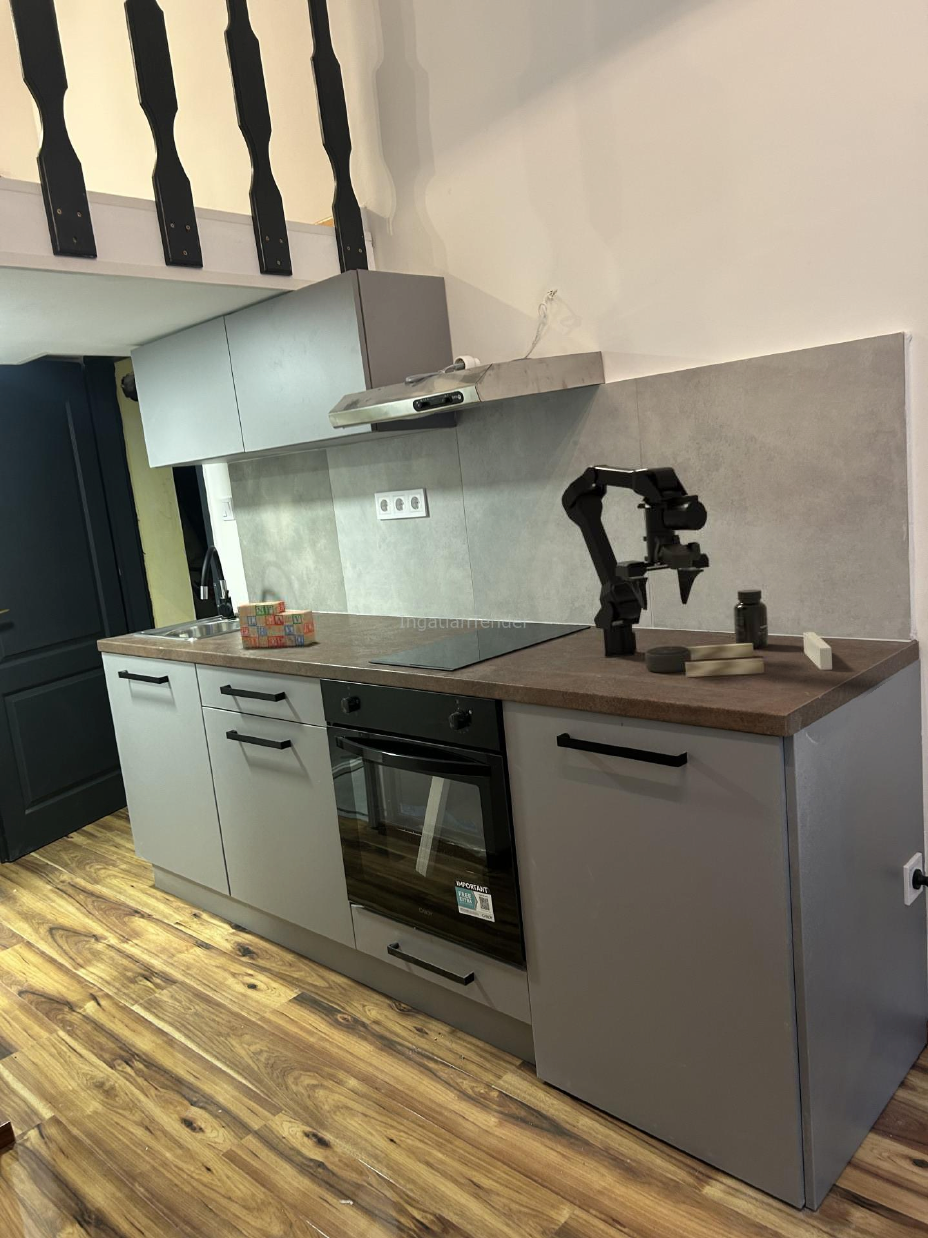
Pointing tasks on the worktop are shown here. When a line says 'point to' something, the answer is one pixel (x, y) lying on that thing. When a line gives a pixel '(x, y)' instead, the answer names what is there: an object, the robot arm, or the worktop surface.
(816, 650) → the block
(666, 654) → the smart speaker
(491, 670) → the worktop surface
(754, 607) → the supplement bottle
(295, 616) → the stack of blocks
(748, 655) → the tunnel walls
